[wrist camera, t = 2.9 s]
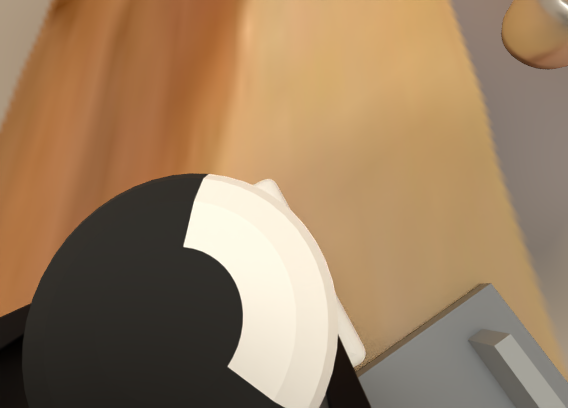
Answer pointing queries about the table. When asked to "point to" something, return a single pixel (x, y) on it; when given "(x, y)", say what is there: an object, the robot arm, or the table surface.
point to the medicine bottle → (186, 304)
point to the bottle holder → (466, 362)
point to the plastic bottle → (537, 32)
